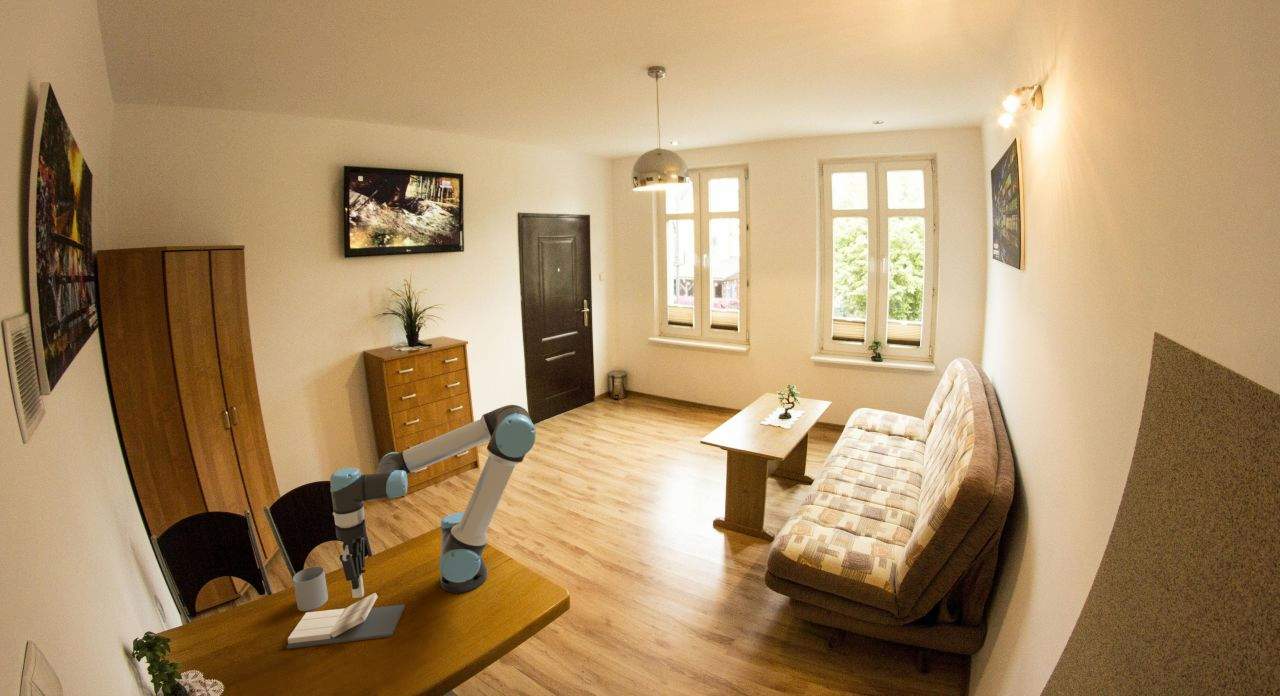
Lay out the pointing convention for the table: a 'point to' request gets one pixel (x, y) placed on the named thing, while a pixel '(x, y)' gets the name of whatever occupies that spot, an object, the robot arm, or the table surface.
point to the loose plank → (354, 615)
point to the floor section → (321, 623)
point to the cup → (310, 588)
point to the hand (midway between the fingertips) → (358, 595)
